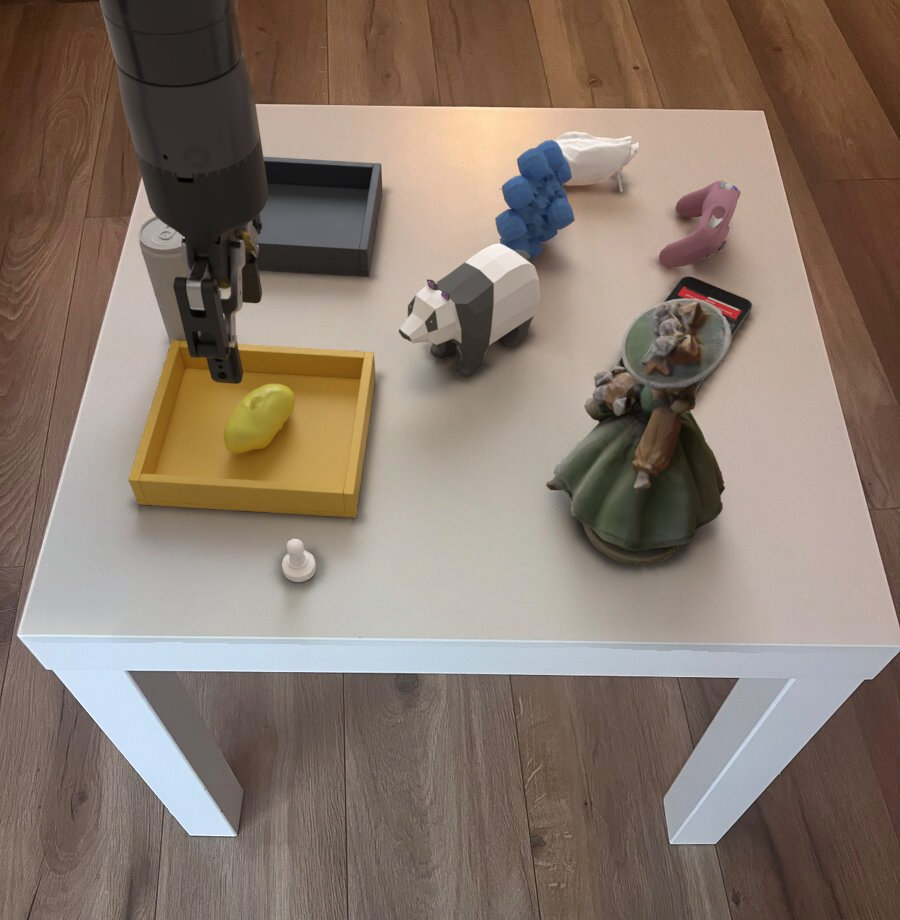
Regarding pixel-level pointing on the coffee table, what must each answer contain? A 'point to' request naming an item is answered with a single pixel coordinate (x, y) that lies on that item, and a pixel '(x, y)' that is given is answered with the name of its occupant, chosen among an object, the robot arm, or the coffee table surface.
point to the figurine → (649, 438)
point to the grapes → (536, 200)
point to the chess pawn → (298, 562)
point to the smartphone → (725, 301)
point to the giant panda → (476, 306)
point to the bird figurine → (595, 157)
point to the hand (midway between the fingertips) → (238, 338)
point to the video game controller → (703, 224)
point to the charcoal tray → (319, 216)
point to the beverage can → (164, 270)
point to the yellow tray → (285, 458)
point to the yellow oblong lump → (258, 418)
